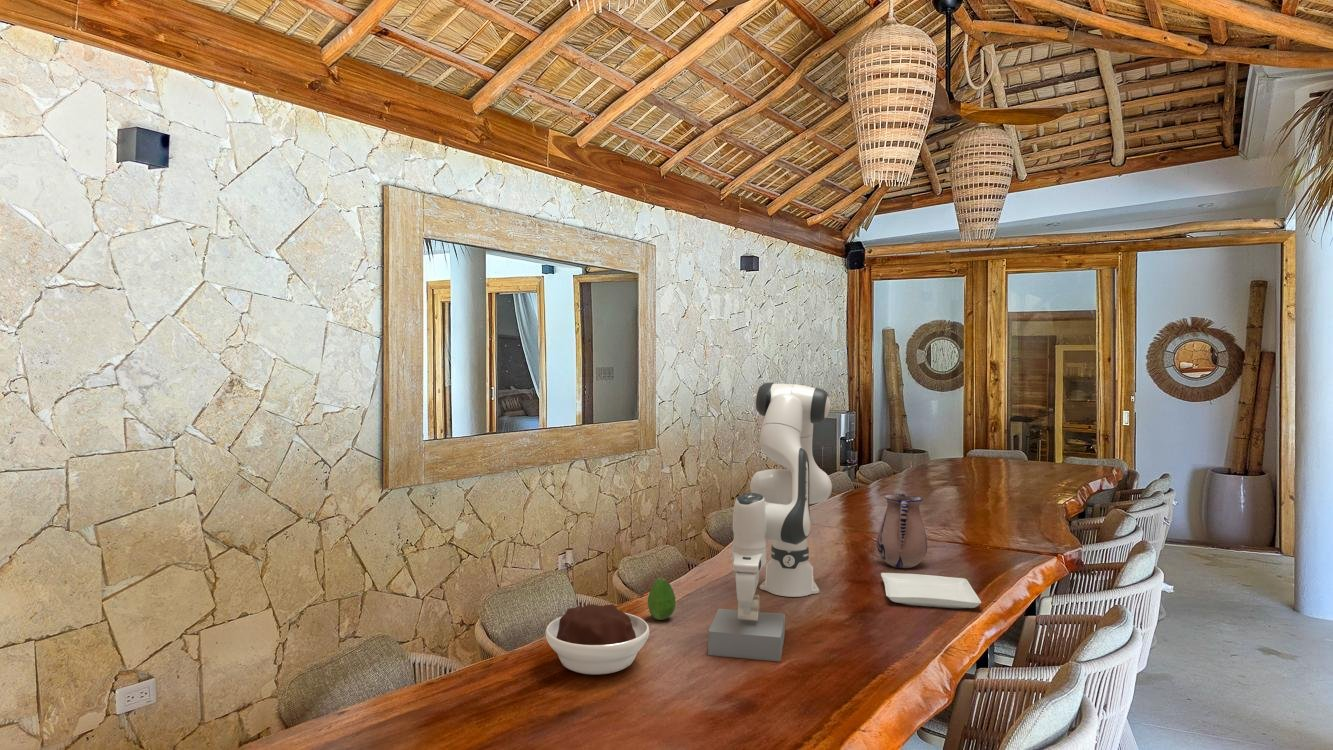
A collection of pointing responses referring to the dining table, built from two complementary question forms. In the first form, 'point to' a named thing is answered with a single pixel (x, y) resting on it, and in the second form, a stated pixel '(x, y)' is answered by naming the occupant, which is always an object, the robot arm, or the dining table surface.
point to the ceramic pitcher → (902, 532)
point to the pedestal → (747, 636)
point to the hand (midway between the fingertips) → (748, 609)
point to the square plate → (930, 590)
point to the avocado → (661, 599)
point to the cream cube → (754, 610)
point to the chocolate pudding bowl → (597, 638)
